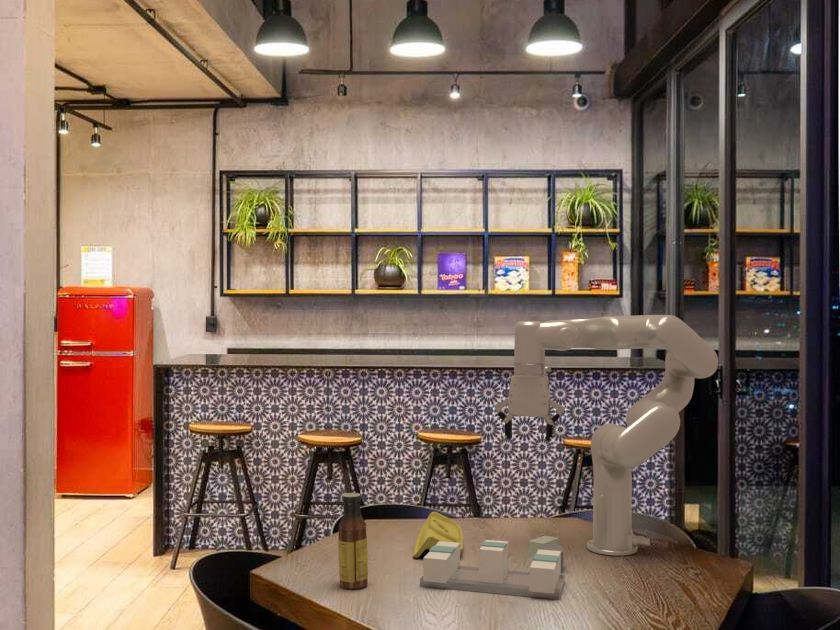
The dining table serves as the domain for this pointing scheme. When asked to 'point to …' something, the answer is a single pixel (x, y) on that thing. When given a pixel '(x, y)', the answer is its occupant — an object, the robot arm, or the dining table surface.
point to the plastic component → (437, 533)
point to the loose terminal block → (535, 543)
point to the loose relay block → (553, 548)
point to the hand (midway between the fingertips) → (528, 439)
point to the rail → (511, 585)
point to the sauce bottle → (352, 544)
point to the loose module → (493, 561)
